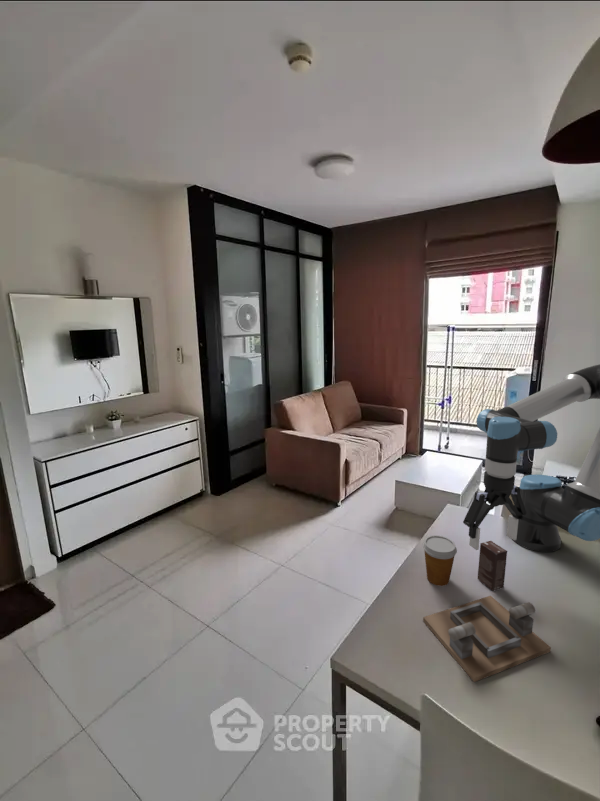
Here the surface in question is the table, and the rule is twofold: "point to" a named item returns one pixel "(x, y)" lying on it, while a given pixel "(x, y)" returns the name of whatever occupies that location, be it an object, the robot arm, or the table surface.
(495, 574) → the box
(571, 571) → the table surface
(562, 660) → the table surface
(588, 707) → the table surface
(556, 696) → the table surface
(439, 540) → the disposable coffee cup
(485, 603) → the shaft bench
